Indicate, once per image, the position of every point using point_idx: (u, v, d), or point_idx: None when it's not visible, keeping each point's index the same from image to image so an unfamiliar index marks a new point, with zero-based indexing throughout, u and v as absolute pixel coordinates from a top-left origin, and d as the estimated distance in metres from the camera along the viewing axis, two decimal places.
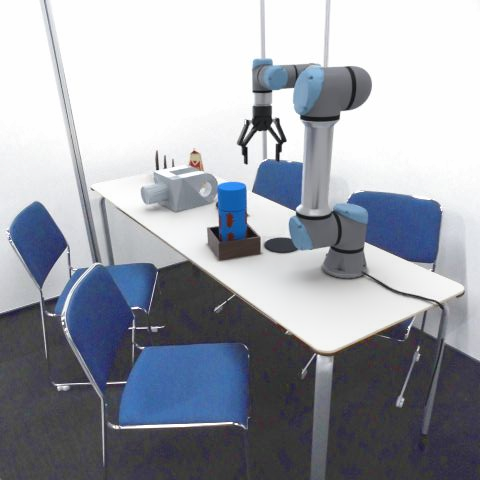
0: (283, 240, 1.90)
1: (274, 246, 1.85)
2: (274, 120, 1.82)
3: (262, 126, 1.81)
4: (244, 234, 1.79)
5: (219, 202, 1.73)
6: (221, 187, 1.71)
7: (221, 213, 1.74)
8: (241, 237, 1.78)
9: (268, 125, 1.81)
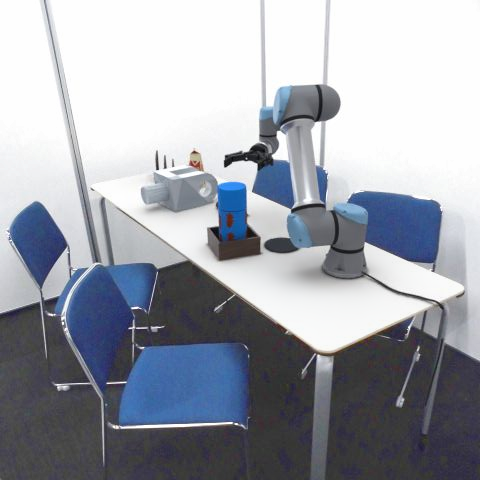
0: (283, 240, 1.90)
1: (274, 246, 1.85)
2: (267, 155, 1.87)
3: (253, 153, 1.87)
4: (244, 234, 1.79)
5: (219, 202, 1.73)
6: (221, 187, 1.71)
7: (221, 213, 1.74)
8: (241, 237, 1.78)
9: (258, 152, 1.86)
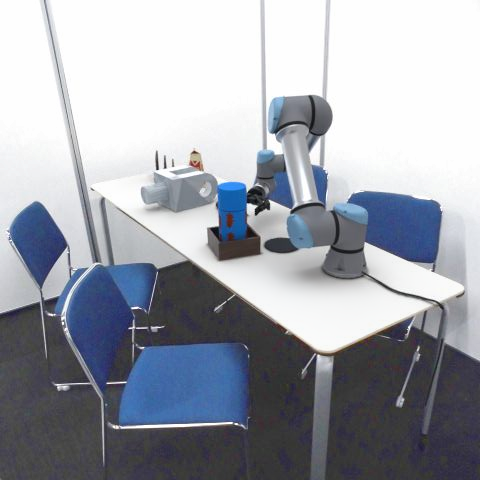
0: (283, 240, 1.90)
1: (274, 246, 1.85)
2: None
3: (250, 197, 1.94)
4: (244, 234, 1.79)
5: (219, 202, 1.73)
6: (221, 187, 1.71)
7: (221, 213, 1.74)
8: (241, 237, 1.78)
9: (256, 195, 1.93)
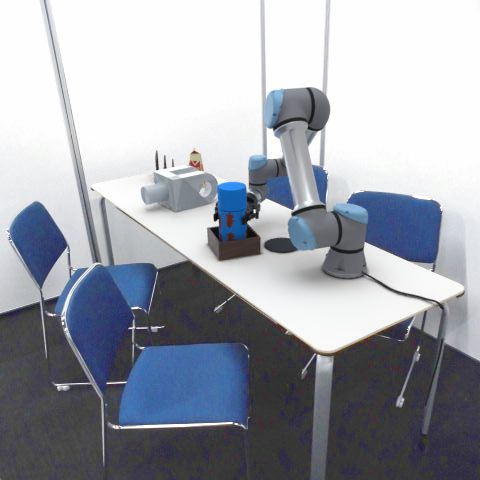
0: (283, 240, 1.90)
1: (274, 246, 1.85)
2: None
3: None
4: (244, 234, 1.79)
5: (219, 202, 1.73)
6: (222, 187, 1.71)
7: (221, 213, 1.74)
8: (241, 237, 1.78)
9: (247, 203, 1.85)
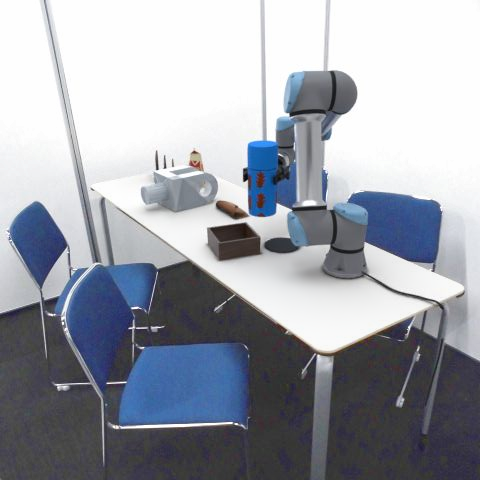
0: (283, 240, 1.90)
1: (274, 246, 1.85)
2: (285, 168, 1.79)
3: None
4: (274, 195, 1.72)
5: (249, 161, 1.66)
6: (252, 144, 1.64)
7: (251, 172, 1.67)
8: (271, 198, 1.71)
9: None
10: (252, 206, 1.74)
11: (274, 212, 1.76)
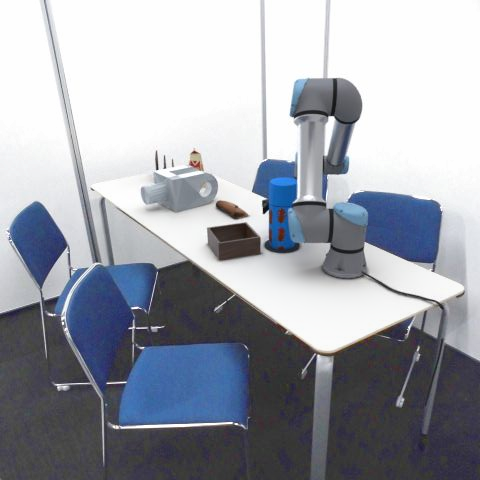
0: None
1: None
2: None
3: None
4: None
5: (271, 197, 1.74)
6: (274, 182, 1.73)
7: (273, 208, 1.75)
8: None
9: None
10: (273, 239, 1.82)
11: (293, 244, 1.84)
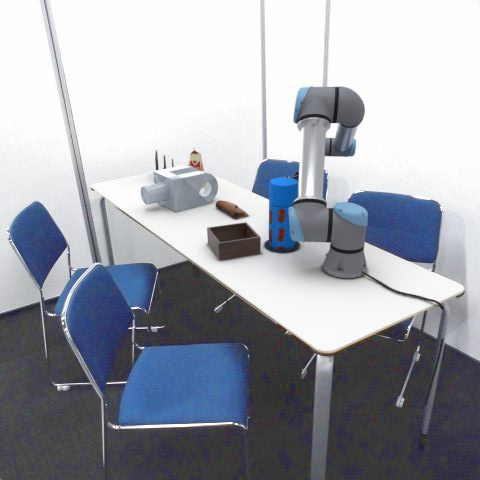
0: None
1: None
2: None
3: None
4: None
5: (271, 197, 1.74)
6: (274, 182, 1.73)
7: (273, 208, 1.75)
8: None
9: None
10: (273, 239, 1.82)
11: (293, 244, 1.84)
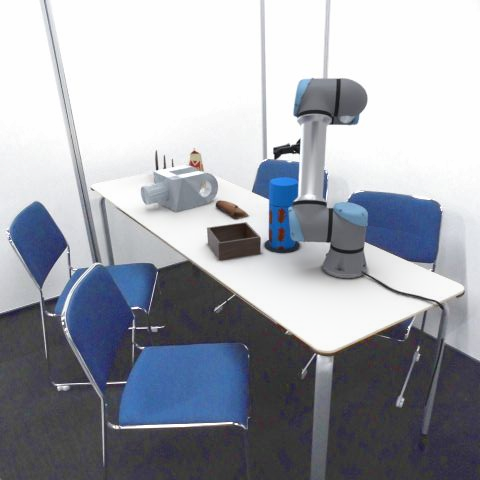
0: None
1: None
2: None
3: None
4: None
5: (271, 197, 1.74)
6: (274, 182, 1.73)
7: (273, 208, 1.75)
8: None
9: None
10: (273, 239, 1.82)
11: (293, 244, 1.84)
